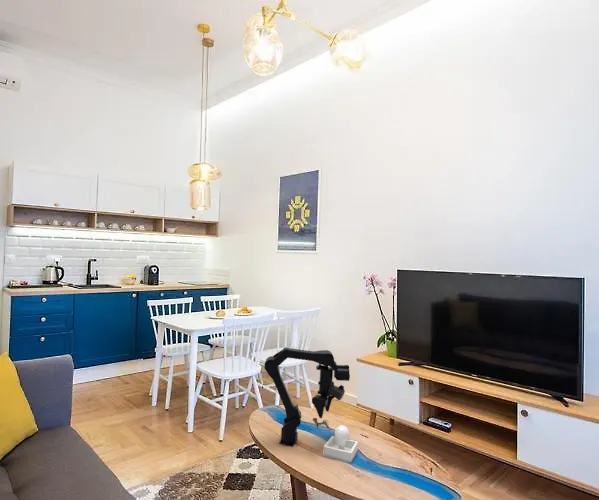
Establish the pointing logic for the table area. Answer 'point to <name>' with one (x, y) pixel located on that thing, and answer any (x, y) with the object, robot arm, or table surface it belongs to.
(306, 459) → the table surface
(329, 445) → the tray
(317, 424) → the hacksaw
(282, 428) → the robot arm
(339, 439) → the lightbulb
